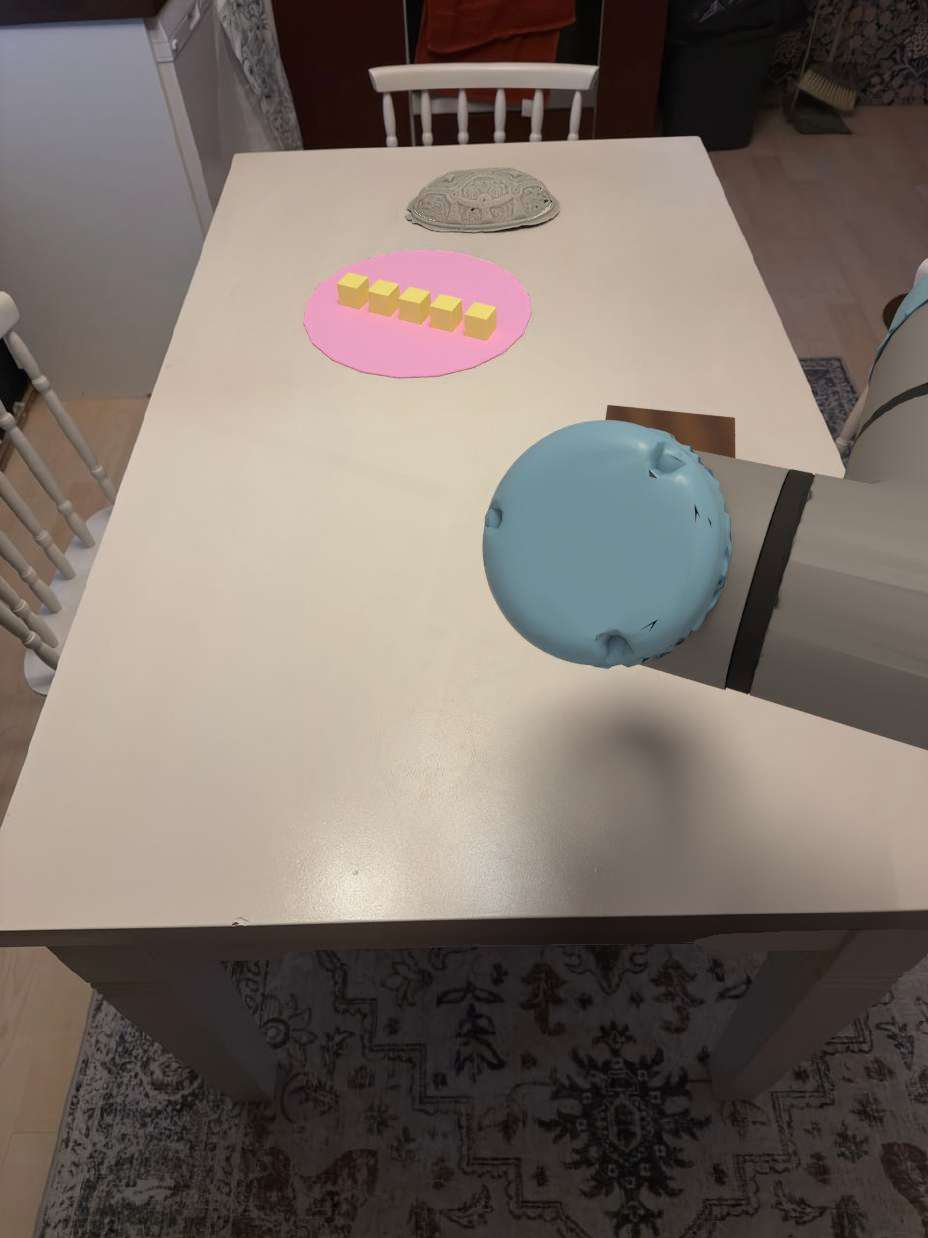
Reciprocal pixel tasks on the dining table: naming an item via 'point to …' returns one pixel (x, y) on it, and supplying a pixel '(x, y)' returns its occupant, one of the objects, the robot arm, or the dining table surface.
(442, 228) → the grey domed piece
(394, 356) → the platter
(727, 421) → the riser
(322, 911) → the dining table surface
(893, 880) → the dining table surface
